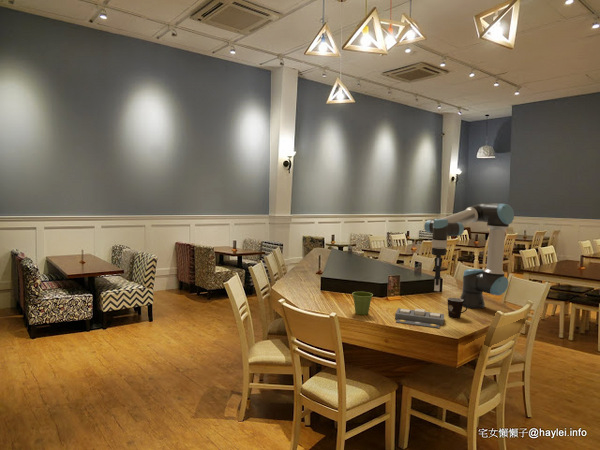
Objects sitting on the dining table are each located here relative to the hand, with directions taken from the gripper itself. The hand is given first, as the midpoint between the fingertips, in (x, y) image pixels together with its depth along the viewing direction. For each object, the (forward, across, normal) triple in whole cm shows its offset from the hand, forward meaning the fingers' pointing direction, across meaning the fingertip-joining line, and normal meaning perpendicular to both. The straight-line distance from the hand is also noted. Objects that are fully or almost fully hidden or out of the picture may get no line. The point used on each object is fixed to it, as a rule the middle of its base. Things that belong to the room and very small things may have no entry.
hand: (436, 290), depth 234 cm
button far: (+15, +1, -16) cm, 22 cm away
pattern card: (+17, +11, -8) cm, 21 cm away
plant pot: (+17, +5, -40) cm, 43 cm away
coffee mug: (+17, -12, +10) cm, 23 cm away
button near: (+15, +1, 0) cm, 15 cm away
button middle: (+14, +1, -8) cm, 16 cm away
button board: (+17, +1, -8) cm, 19 cm away
